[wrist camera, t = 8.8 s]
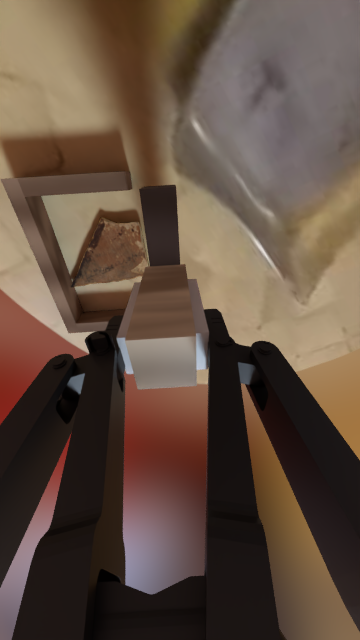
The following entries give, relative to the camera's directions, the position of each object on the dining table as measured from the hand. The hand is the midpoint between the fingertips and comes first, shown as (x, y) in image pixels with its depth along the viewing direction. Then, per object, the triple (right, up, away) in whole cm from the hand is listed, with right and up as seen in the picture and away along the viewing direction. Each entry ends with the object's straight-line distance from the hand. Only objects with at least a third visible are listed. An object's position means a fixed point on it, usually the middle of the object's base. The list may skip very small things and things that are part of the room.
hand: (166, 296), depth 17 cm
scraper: (0, +3, +4) cm, 5 cm away
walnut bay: (-10, +6, +10) cm, 15 cm away
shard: (-7, +6, +11) cm, 15 cm away
